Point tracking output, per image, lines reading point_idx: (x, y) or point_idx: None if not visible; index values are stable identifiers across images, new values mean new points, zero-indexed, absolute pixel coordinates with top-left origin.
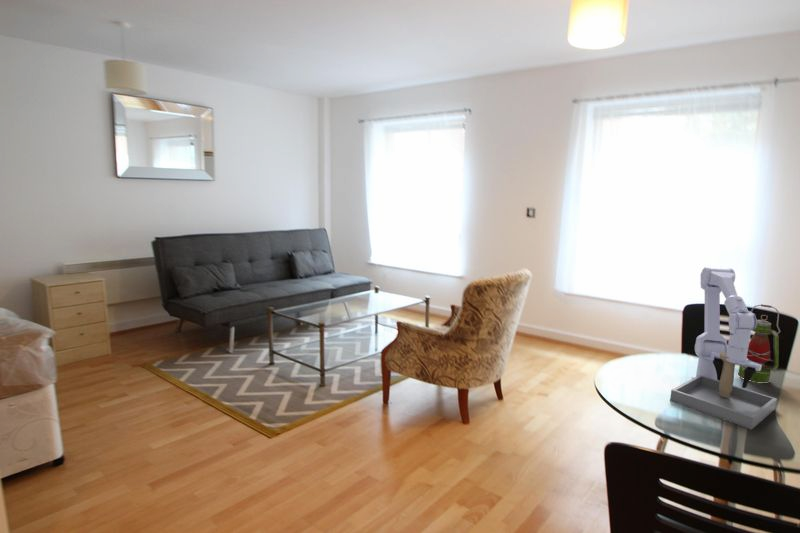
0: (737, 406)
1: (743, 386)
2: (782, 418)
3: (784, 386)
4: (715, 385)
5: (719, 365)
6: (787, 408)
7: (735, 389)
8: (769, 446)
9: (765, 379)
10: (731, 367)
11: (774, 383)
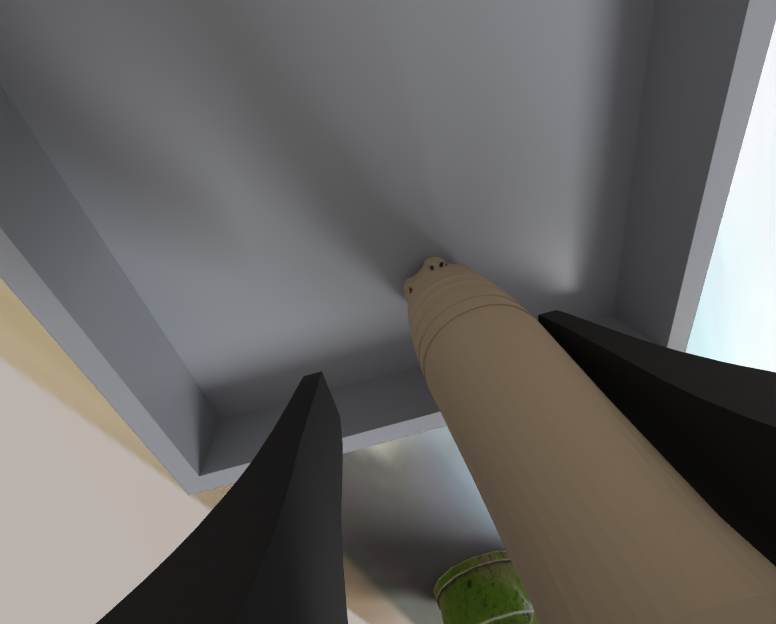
0: (288, 222)
1: (308, 382)
2: None
3: (391, 612)
4: None
5: (771, 421)
6: (219, 491)
7: (426, 399)
8: None
9: (444, 604)
10: (554, 534)
11: (422, 604)
